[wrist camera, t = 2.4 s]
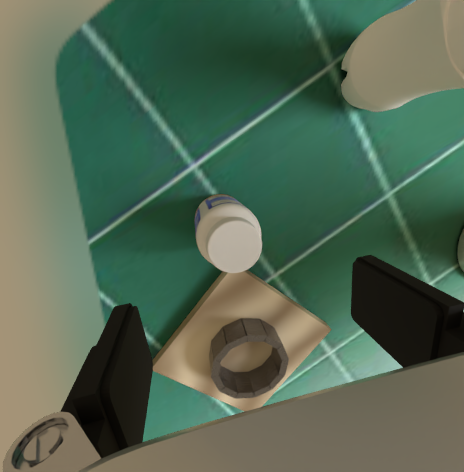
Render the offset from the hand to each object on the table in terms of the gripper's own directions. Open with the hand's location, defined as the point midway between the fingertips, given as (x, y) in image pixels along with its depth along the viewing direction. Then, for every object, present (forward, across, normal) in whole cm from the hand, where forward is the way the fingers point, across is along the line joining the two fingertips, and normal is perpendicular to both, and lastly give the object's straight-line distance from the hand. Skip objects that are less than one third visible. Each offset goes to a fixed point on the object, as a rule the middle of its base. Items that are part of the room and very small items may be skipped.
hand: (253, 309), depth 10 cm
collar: (+15, -2, +16) cm, 23 cm away
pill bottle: (+17, -1, 0) cm, 17 cm away
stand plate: (+17, -2, +16) cm, 24 cm away
